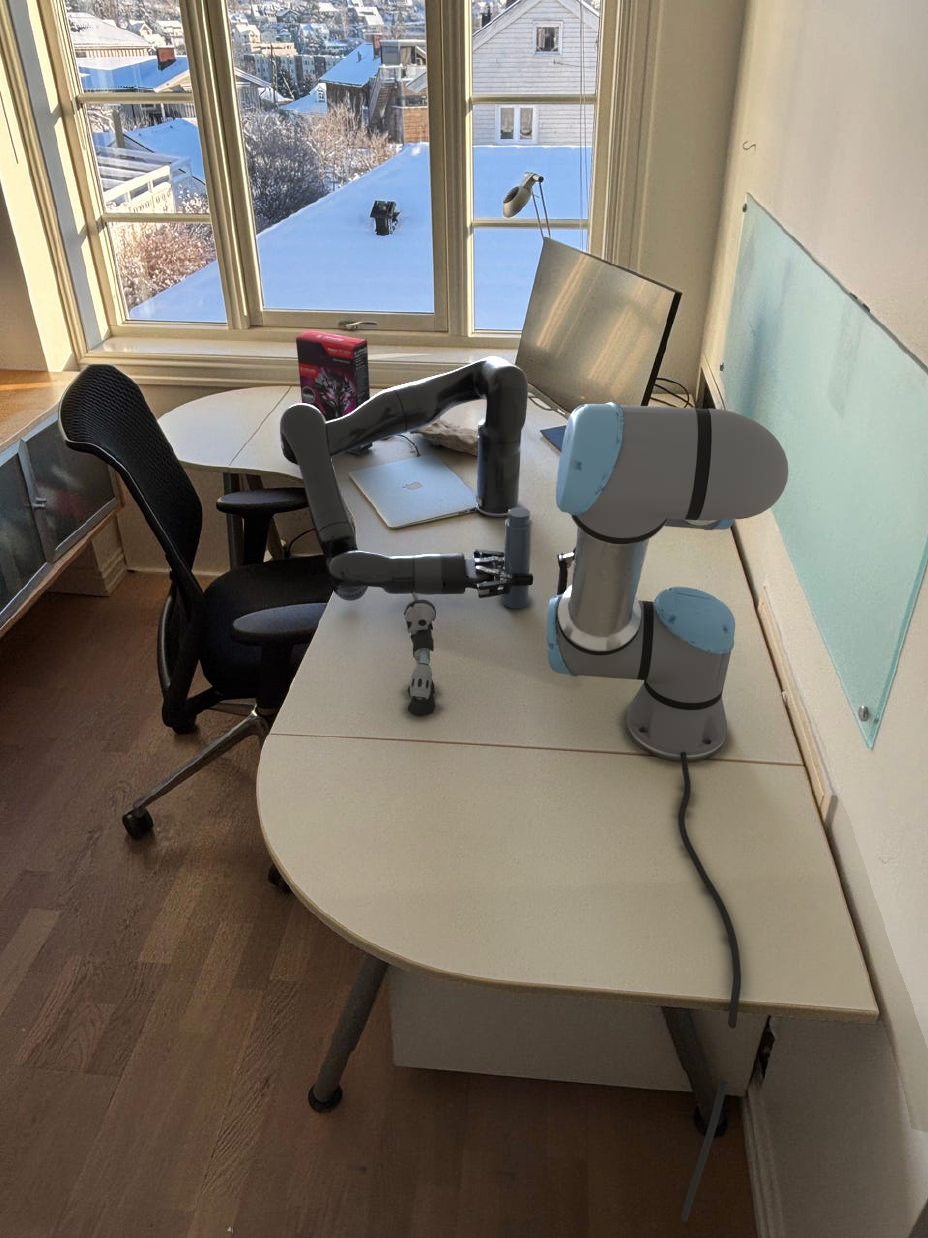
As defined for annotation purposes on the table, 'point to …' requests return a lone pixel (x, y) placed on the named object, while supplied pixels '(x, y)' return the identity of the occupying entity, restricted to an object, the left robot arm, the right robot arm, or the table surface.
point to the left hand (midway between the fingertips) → (530, 571)
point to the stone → (450, 436)
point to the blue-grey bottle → (517, 553)
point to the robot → (421, 655)
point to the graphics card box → (333, 374)
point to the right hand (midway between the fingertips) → (589, 639)
